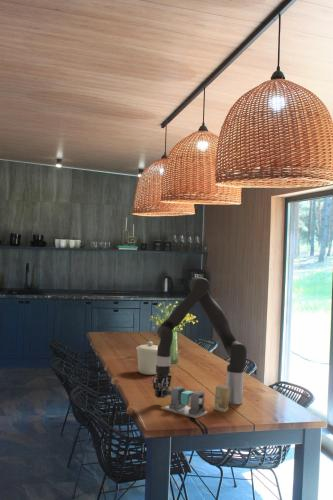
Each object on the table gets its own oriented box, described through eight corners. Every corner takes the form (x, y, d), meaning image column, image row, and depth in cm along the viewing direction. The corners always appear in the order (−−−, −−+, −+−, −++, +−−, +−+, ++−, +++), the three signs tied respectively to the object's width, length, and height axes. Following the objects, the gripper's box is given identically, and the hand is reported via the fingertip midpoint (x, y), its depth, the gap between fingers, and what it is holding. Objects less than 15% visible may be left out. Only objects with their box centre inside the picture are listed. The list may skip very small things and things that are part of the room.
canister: (161, 377, 328) (163, 344, 328) (133, 375, 329) (135, 343, 329) (162, 370, 346) (164, 340, 346) (136, 369, 347) (137, 338, 347)
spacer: (187, 401, 263) (187, 390, 263) (193, 402, 261) (194, 391, 261) (180, 403, 258) (181, 392, 258) (187, 405, 256) (187, 394, 256)
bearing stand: (175, 404, 270) (176, 383, 270) (207, 413, 258) (208, 391, 259) (163, 409, 261) (164, 387, 261) (195, 418, 250) (197, 395, 250)
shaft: (154, 395, 269) (155, 386, 269) (160, 394, 273) (160, 384, 273) (198, 407, 252) (199, 397, 252) (204, 405, 256) (204, 395, 256)
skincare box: (213, 409, 266) (215, 386, 266) (217, 407, 269) (219, 384, 269) (224, 412, 262) (226, 388, 262) (228, 410, 266) (229, 386, 266)
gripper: (165, 361, 277) (163, 392, 277) (149, 364, 266) (147, 397, 265) (176, 363, 273) (174, 395, 273) (160, 367, 261) (158, 400, 261)
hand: (161, 396), depth 269 cm, fingers closed on shaft, 5 cm apart
